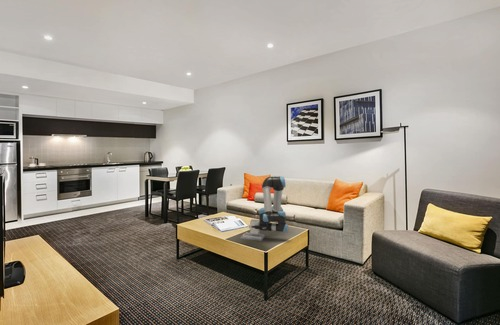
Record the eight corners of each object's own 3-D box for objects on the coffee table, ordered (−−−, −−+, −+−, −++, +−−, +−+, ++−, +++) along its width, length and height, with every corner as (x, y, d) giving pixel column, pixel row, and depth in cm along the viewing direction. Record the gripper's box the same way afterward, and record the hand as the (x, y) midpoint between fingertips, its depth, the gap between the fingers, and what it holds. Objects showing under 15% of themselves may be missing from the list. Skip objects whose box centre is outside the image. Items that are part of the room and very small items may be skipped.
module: (251, 231, 265) (251, 219, 264) (259, 232, 262) (259, 219, 262) (250, 233, 259) (249, 220, 259) (257, 233, 256) (257, 220, 256)
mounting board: (245, 234, 273) (245, 231, 272) (265, 235, 266) (265, 233, 266) (240, 238, 257) (240, 236, 257) (261, 240, 251) (261, 238, 250)
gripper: (270, 233, 246) (246, 231, 253) (274, 228, 264) (252, 226, 271) (269, 225, 246) (246, 224, 253) (274, 220, 264) (252, 219, 271)
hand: (249, 225), depth 262 cm, fingers closed on module, 6 cm apart
